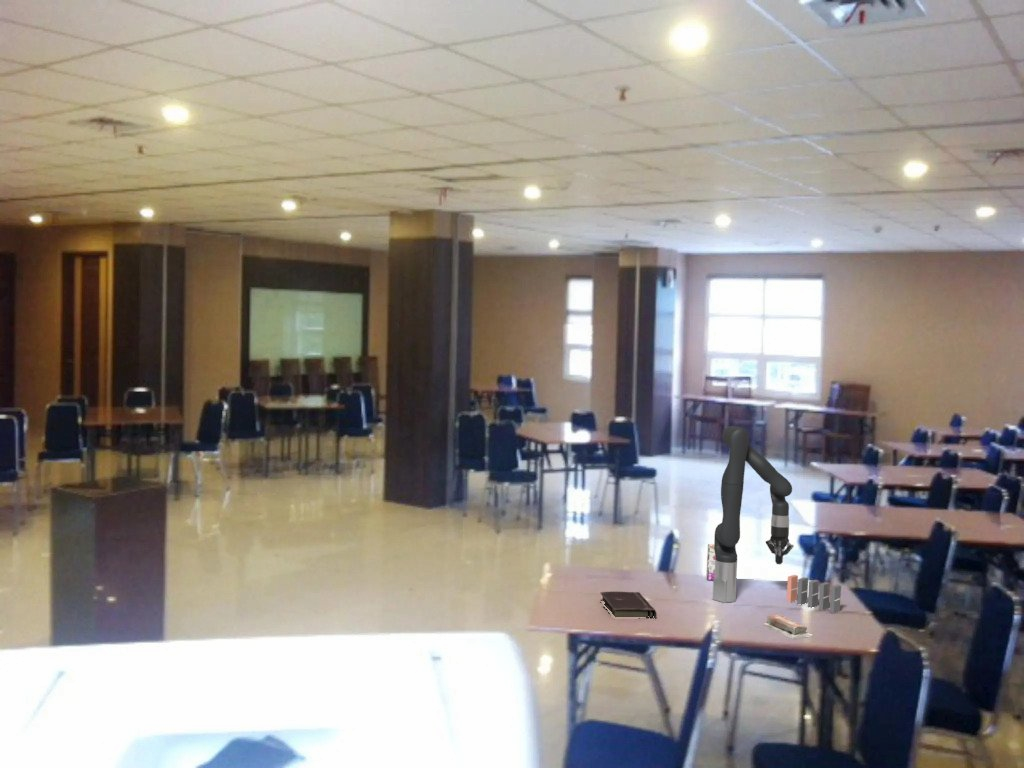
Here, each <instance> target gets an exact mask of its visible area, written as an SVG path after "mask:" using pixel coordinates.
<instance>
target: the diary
mask: <svg viewBox="0 0 1024 768" xmlns="http://www.w3.org/2000/svg"><path fill="white" fill-rule="evenodd" d="M599 593H600V595H601V596H602V600H603V601H604V602H605V604H604V605H605V606H606V607H607V608H608V609H609V610H610V611H611V612H612V614H613V615H614V616H615V617H647V618H648V616H649V617H651V618H653V617H652V616H654V618H657V616H658V615H657V611H656V609H655V608H654V607H653V606H652V605H651V603H649V601H648V600H647V599H646V598H645V597H644V596H643V594H641V592H640V591H639V592H638V591H602V592H599ZM602 600H601V601H602ZM654 618H653V619H654Z"/></svg>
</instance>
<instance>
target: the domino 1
mask: <svg viewBox="0 0 1024 768" xmlns="http://www.w3.org/2000/svg"><path fill="white" fill-rule="evenodd" d="M798 579H799V576H798V574H797V575H796V574H792V575H788V576H787V583H786V584H787V587H786V591H787V593H786V602H787V601H790V602H791V603H793V602H792V601H794V602H796V601H795V600H797V596H798Z"/></svg>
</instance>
